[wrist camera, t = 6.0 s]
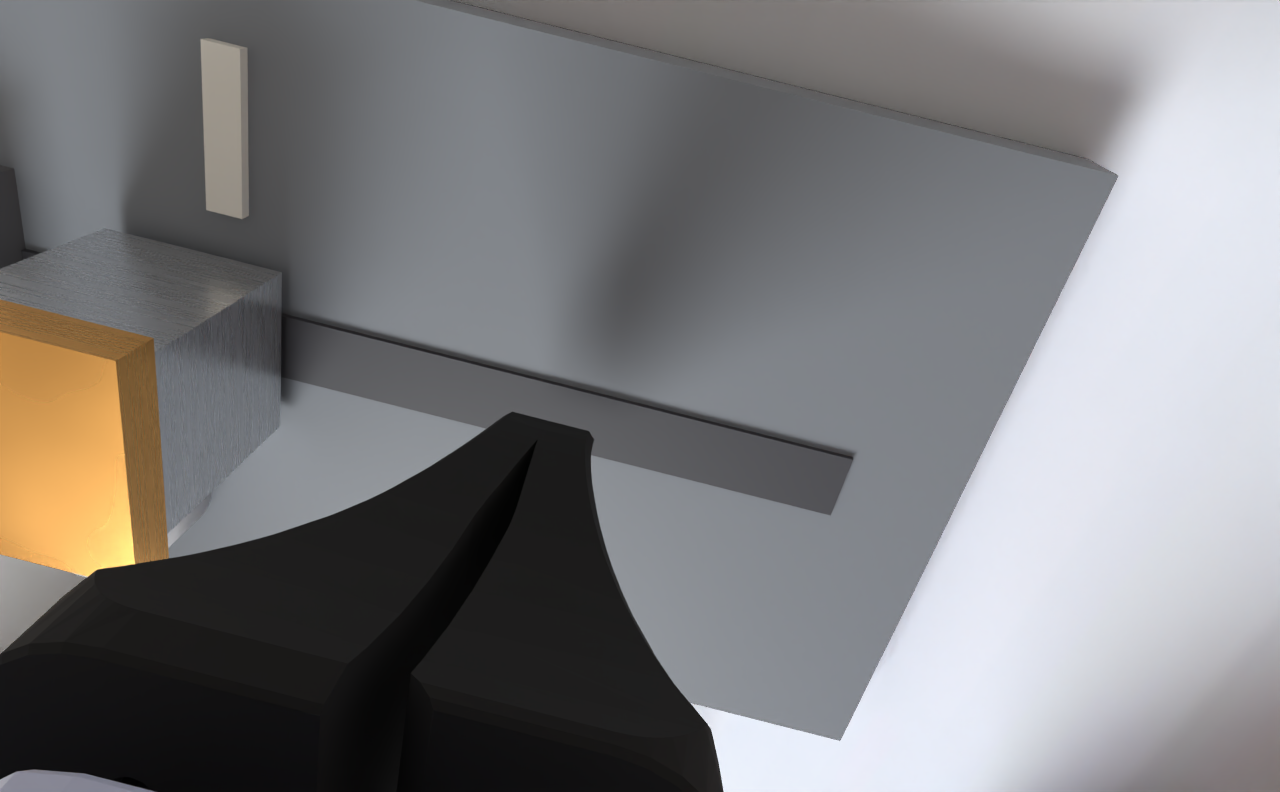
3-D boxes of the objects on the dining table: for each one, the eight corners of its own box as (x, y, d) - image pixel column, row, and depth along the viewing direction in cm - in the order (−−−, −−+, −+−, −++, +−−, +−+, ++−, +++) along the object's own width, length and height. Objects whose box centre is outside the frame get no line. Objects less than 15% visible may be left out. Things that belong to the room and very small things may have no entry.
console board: (1087, 158, 13) (1177, 207, 10) (834, 696, 18) (848, 818, 16) (-43, -123, 13) (-250, -149, 10) (51, 497, 18) (-67, 585, 16)
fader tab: (288, 256, 13) (115, 361, 10) (285, 441, 15) (137, 589, 11) (97, 208, 13) (-145, 295, 10) (116, 398, 15) (-86, 532, 11)
